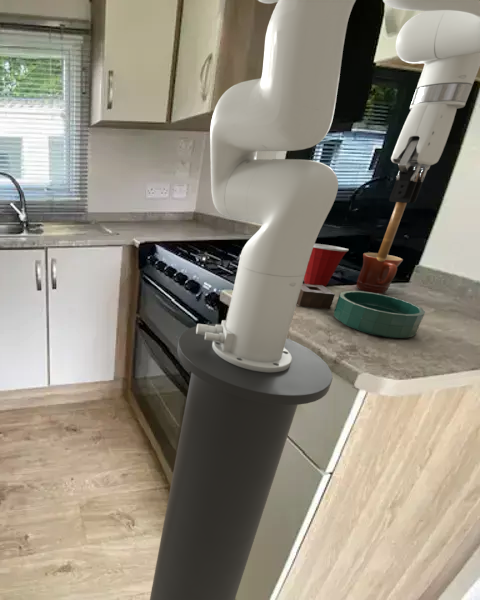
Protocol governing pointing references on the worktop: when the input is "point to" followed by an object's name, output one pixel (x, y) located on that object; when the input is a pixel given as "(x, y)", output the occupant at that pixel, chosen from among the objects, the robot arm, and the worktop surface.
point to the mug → (377, 273)
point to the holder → (315, 296)
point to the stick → (391, 229)
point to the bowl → (378, 314)
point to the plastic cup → (323, 264)
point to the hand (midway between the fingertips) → (402, 201)
